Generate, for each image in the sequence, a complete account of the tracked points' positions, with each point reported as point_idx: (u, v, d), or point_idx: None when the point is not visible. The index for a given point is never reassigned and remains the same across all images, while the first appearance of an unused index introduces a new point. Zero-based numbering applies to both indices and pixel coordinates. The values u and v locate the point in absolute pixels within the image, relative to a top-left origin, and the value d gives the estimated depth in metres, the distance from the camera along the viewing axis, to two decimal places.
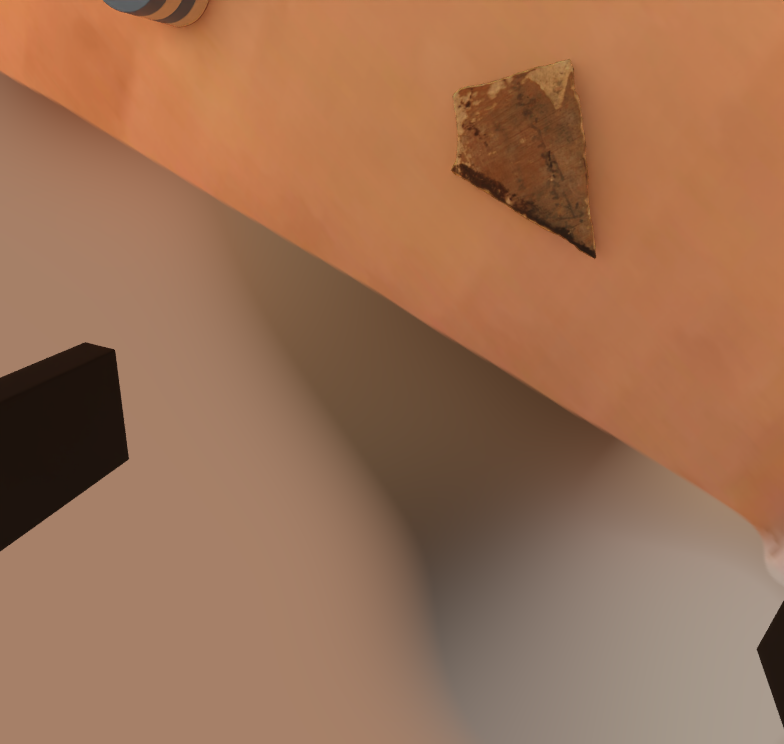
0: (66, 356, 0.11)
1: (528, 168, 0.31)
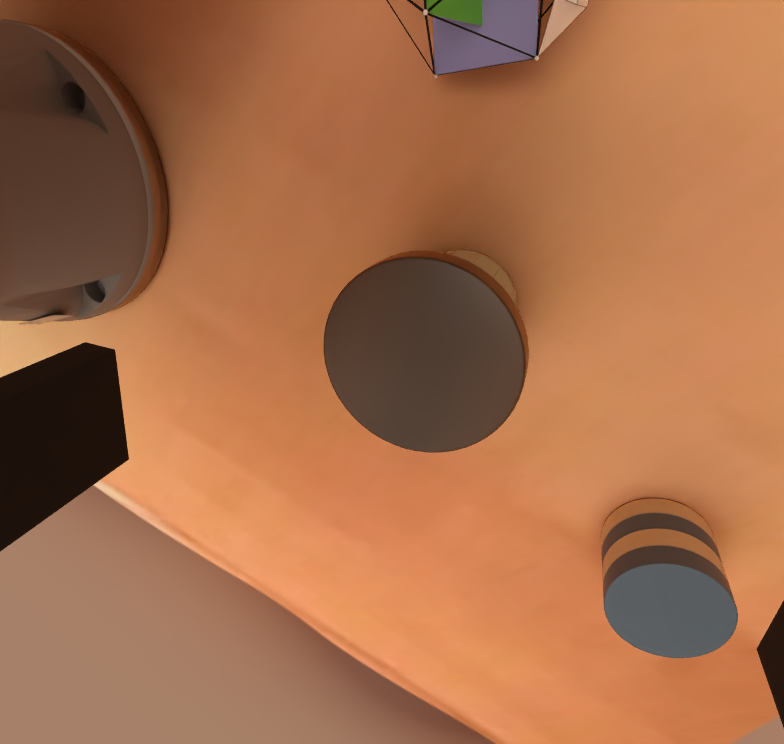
0: (66, 356, 0.11)
1: None
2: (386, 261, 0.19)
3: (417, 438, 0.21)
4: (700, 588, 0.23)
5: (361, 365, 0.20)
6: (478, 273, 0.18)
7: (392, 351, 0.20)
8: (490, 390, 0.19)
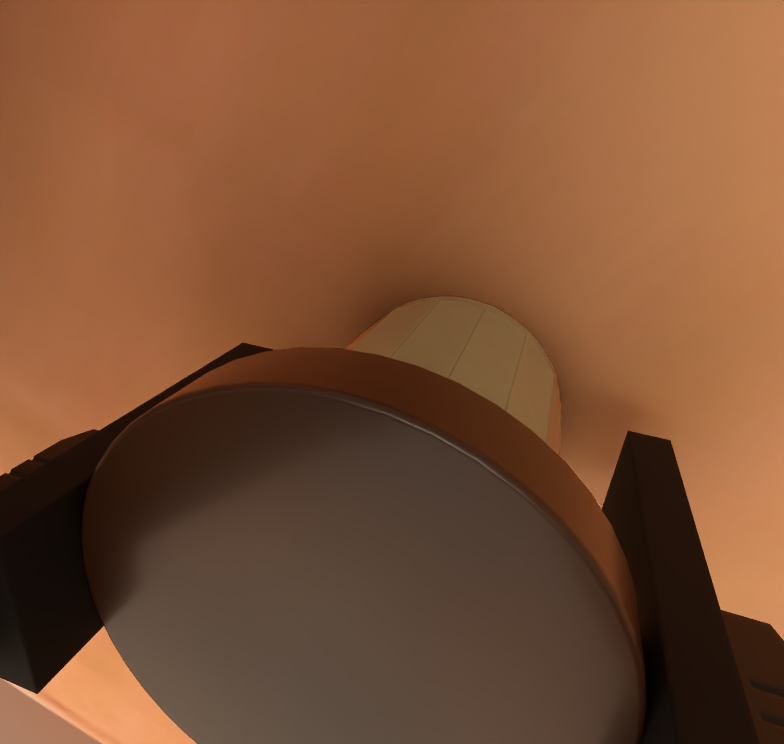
0: (234, 354, 0.12)
1: None
2: (197, 393, 0.06)
3: None
4: None
5: (182, 639, 0.08)
6: (488, 437, 0.05)
7: (251, 622, 0.07)
8: None
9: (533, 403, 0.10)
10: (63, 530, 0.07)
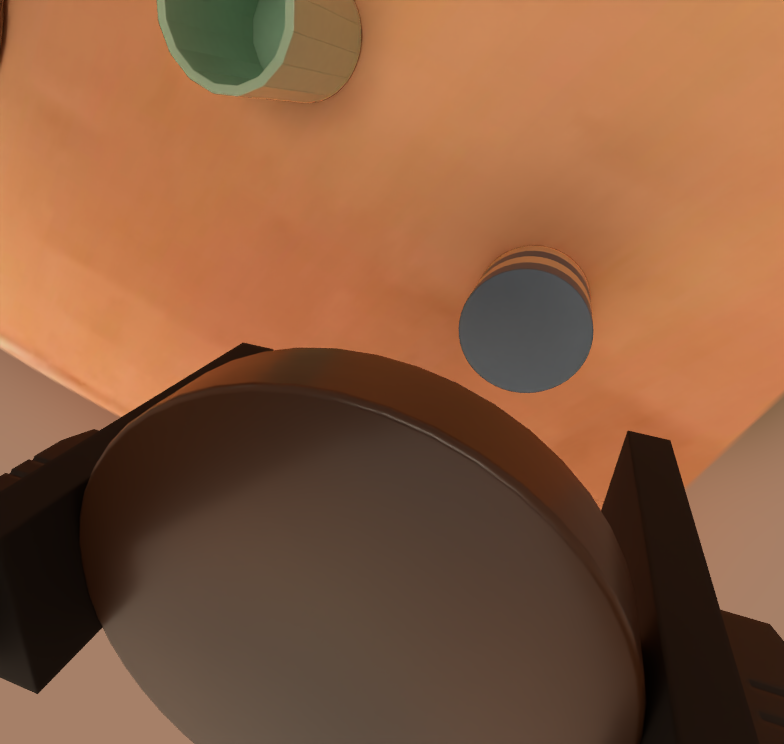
0: (234, 355, 0.12)
1: None
2: (195, 393, 0.06)
3: None
4: (551, 294, 0.21)
5: (180, 639, 0.08)
6: (486, 437, 0.05)
7: (249, 623, 0.07)
8: None
9: None
10: (63, 530, 0.07)
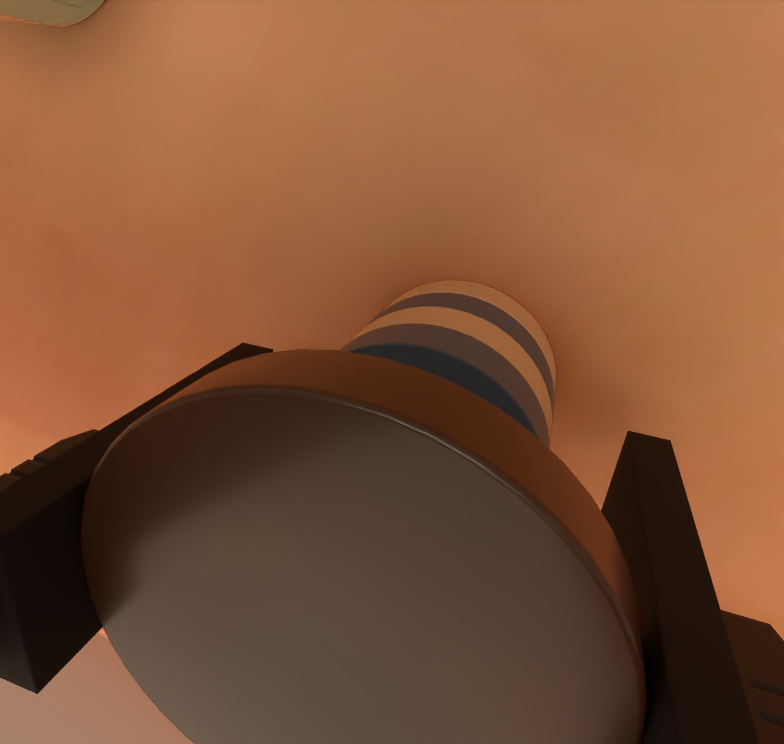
0: (234, 355, 0.12)
1: None
2: (196, 395, 0.06)
3: None
4: None
5: (181, 641, 0.08)
6: (487, 439, 0.05)
7: (250, 624, 0.07)
8: None
9: None
10: (63, 530, 0.07)
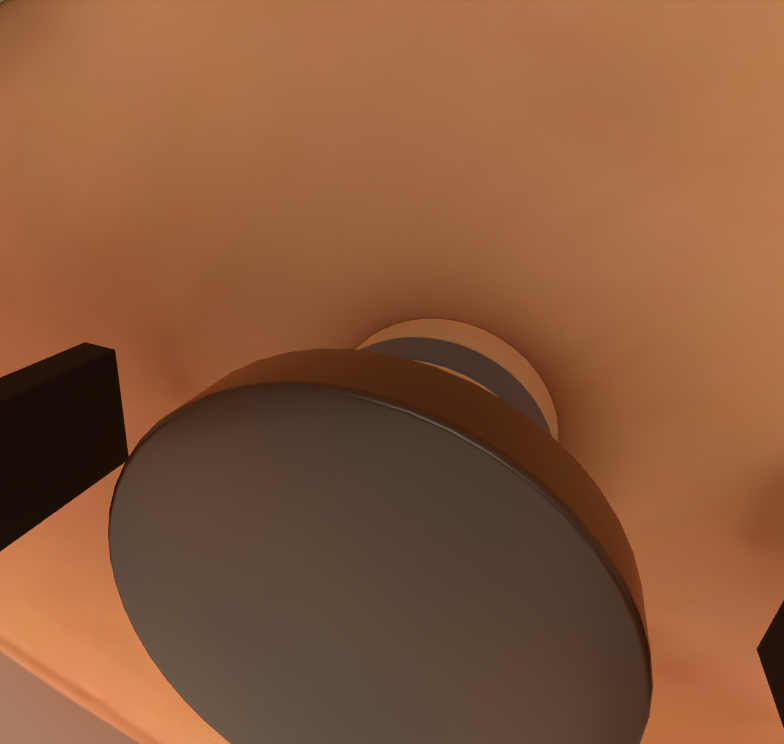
0: (66, 355, 0.11)
1: None
2: (226, 392, 0.06)
3: None
4: None
5: (204, 628, 0.08)
6: (502, 433, 0.06)
7: (272, 611, 0.07)
8: (540, 740, 0.07)
9: None
10: None
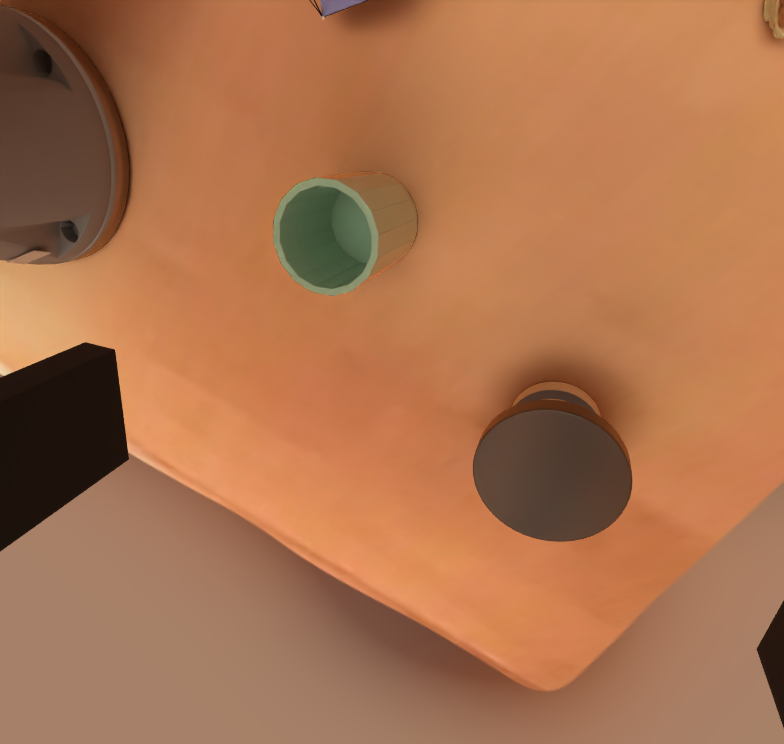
0: (66, 356, 0.11)
1: None
2: (526, 411, 0.26)
3: (545, 531, 0.28)
4: None
5: (502, 479, 0.27)
6: (596, 420, 0.25)
7: (528, 471, 0.27)
8: (604, 499, 0.26)
9: (390, 195, 0.27)
10: None
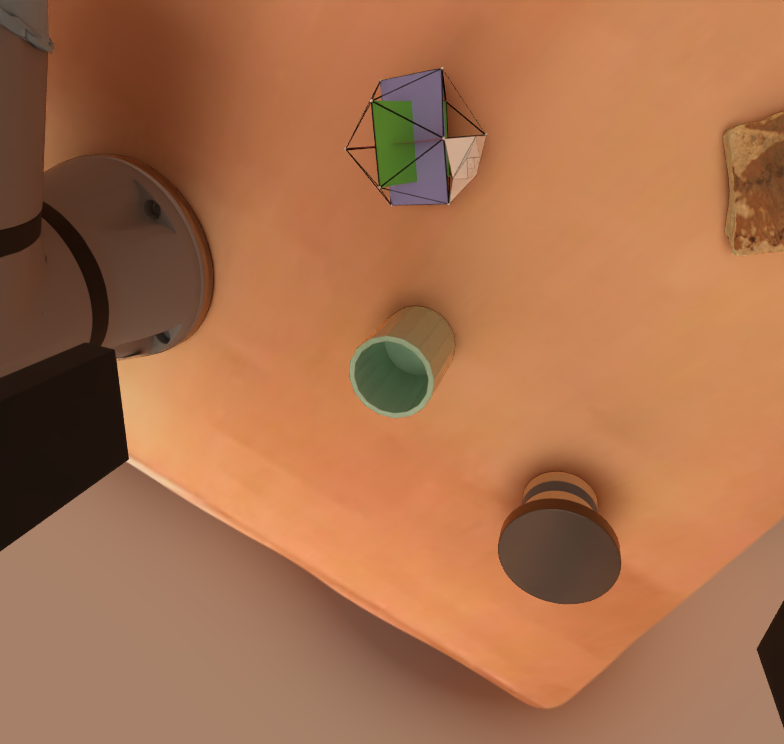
0: (66, 355, 0.11)
1: None
2: (542, 509, 0.34)
3: (553, 596, 0.36)
4: None
5: (521, 556, 0.35)
6: (594, 518, 0.33)
7: (541, 552, 0.35)
8: (599, 576, 0.34)
9: (438, 337, 0.35)
10: None
